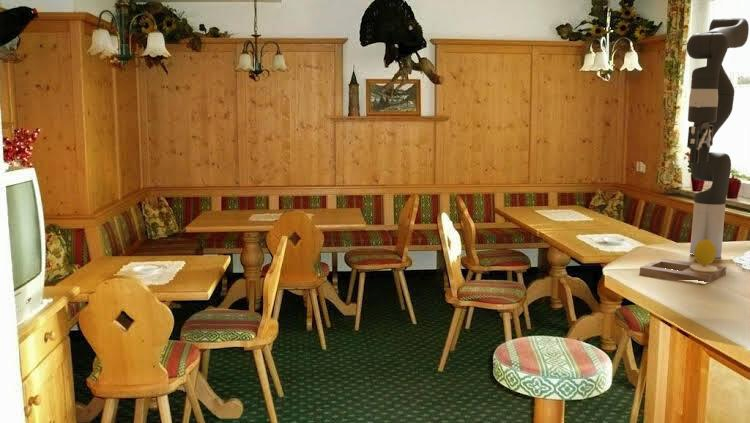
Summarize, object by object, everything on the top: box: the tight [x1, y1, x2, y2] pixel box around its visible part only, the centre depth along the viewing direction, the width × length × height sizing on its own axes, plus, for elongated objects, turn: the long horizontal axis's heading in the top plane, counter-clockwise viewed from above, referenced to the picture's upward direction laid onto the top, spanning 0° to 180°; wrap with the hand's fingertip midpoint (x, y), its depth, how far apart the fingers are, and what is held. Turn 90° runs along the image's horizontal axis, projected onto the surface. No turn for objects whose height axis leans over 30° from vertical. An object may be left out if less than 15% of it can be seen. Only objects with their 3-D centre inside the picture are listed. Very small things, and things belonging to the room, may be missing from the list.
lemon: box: [694, 239, 716, 266], centre depth 211 cm, size 6×6×8 cm
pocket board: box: [639, 257, 727, 283], centre depth 214 cm, size 18×18×2 cm
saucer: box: [690, 264, 717, 272], centre depth 211 cm, size 7×7×1 cm
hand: (698, 162), depth 214 cm, fingers open, 8 cm apart
